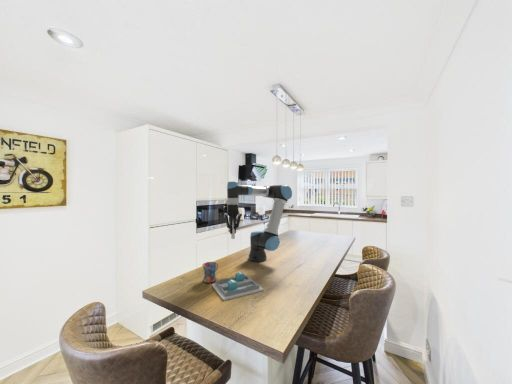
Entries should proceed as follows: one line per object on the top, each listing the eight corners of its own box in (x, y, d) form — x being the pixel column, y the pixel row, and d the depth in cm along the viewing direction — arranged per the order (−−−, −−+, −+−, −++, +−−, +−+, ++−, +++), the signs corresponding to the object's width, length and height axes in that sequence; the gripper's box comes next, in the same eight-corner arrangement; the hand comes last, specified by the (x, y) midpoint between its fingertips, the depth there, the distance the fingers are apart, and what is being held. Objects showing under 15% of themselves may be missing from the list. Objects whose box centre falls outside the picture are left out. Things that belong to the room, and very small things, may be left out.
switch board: (247, 277, 140) (247, 273, 140) (263, 290, 122) (263, 284, 122) (212, 285, 128) (212, 280, 128) (223, 300, 111) (223, 294, 111)
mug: (209, 285, 129) (209, 267, 129) (199, 281, 134) (199, 264, 134) (223, 278, 139) (223, 262, 139) (212, 275, 144) (212, 259, 144)
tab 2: (241, 279, 134) (241, 270, 134) (244, 282, 130) (244, 273, 130) (235, 281, 132) (235, 272, 132) (238, 283, 128) (238, 274, 128)
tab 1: (234, 288, 122) (234, 278, 122) (237, 291, 118) (237, 281, 118) (227, 290, 120) (227, 280, 120) (230, 293, 116) (230, 282, 116)
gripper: (239, 203, 153) (239, 236, 153) (221, 204, 147) (222, 238, 147) (243, 204, 146) (243, 238, 146) (225, 204, 140) (225, 240, 140)
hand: (232, 238), depth 146 cm, fingers closed
